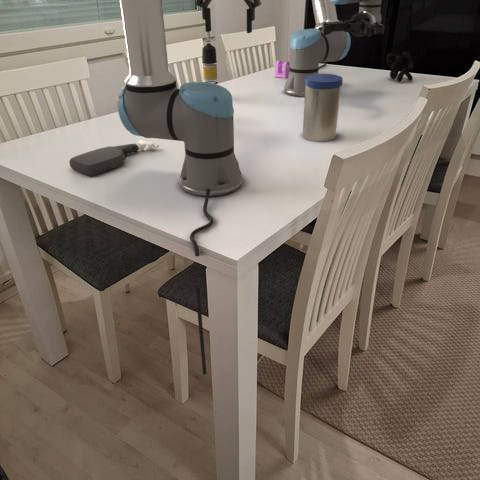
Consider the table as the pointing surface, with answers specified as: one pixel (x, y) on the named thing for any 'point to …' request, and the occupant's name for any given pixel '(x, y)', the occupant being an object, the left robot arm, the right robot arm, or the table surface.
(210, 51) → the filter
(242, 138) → the table surface
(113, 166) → the spray bottle
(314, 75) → the lid
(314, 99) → the jar
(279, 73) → the bracket
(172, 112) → the left robot arm
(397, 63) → the squiggle
